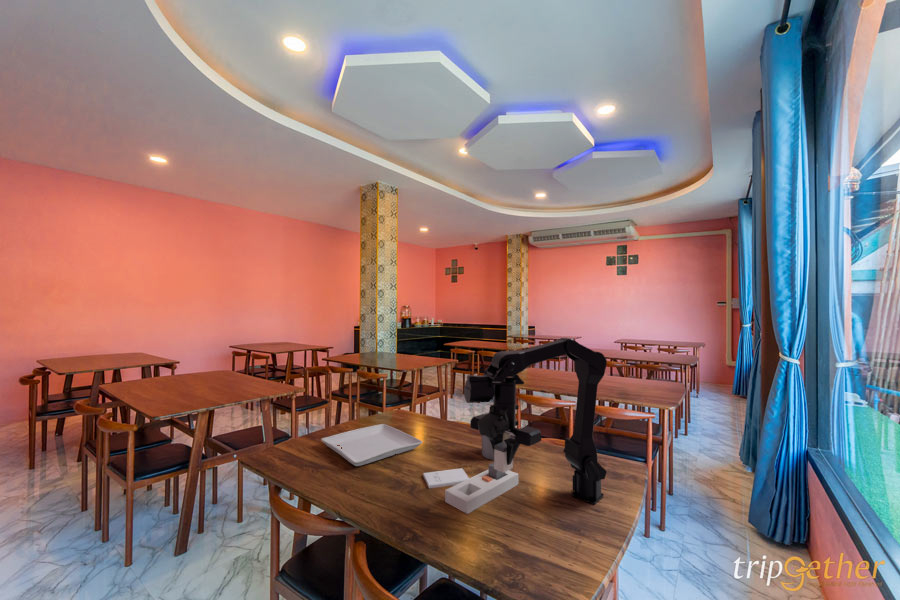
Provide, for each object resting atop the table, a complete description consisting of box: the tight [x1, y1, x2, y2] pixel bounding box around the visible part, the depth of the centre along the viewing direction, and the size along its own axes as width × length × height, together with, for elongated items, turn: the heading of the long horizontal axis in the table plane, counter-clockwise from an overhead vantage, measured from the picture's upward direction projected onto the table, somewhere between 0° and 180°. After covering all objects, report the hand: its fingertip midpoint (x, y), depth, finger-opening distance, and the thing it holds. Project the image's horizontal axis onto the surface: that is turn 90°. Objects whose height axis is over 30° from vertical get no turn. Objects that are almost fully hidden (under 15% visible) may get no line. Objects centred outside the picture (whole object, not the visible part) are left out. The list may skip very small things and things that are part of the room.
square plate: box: [320, 423, 423, 467], centre depth 131 cm, size 27×27×4 cm
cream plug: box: [493, 442, 514, 473], centre depth 92 cm, size 3×4×6 cm
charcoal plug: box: [488, 462, 505, 480], centre depth 104 cm, size 3×4×6 cm
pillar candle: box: [481, 412, 509, 461], centre depth 126 cm, size 10×10×15 cm
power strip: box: [444, 468, 519, 515], centre depth 100 cm, size 8×22×4 cm, turn 135°
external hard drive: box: [422, 467, 470, 489], centre depth 107 cm, size 2×8×12 cm
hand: (503, 462), depth 92 cm, fingers closed on cream plug, 3 cm apart
